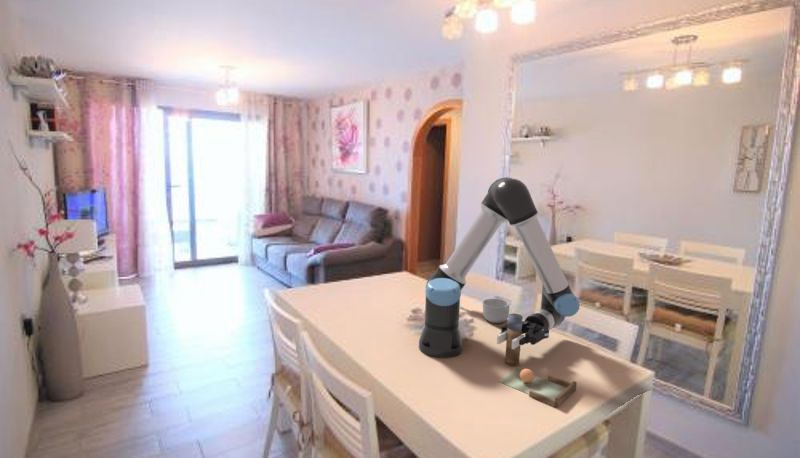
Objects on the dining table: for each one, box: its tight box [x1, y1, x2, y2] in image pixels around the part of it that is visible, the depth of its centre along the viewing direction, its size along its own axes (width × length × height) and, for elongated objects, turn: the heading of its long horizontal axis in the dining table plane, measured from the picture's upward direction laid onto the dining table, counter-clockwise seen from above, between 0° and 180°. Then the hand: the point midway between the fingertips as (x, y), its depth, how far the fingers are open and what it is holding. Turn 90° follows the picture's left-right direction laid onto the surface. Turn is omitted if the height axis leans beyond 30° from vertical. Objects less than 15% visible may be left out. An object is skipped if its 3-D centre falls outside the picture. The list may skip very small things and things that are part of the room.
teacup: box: [482, 297, 510, 324], centre depth 173 cm, size 14×11×8 cm
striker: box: [504, 313, 523, 367], centre depth 134 cm, size 4×4×16 cm
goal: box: [498, 368, 578, 409], centre depth 121 cm, size 18×13×2 cm
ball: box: [520, 368, 534, 383], centre depth 123 cm, size 4×4×4 cm
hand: (505, 342), depth 130 cm, fingers closed on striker, 4 cm apart
